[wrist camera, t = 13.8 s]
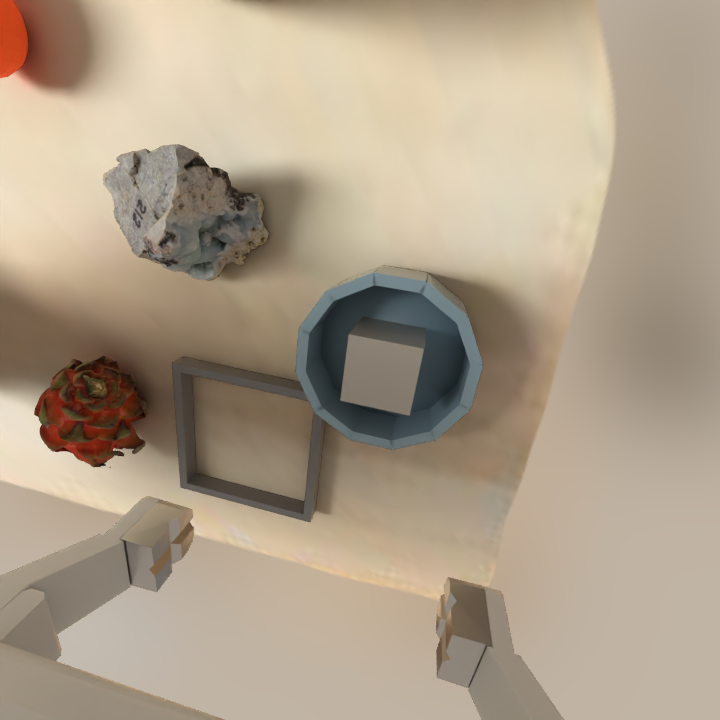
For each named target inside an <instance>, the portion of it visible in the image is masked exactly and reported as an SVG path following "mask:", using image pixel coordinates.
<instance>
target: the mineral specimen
mask: <svg viewBox="0 0 720 720" xmlns="http://www.w3.org/2000/svg"><path fill="white" fill-rule="evenodd" d="M117 161H118V162H120V163H119V164H118V166H117V167H115V168H113V169H112V170H109V171H108V173H105V174H104V176H103V184H104V185H105V187H106V188H107V189H108V191H109V192H110V193H111V194H112V197H113V201H114V207H115V209H114V211H113V212H114V216H115V219H116V221H117V222H118V224H119V225H120V228H121V230H122V232H123V233H124V235H125V237H126V239H127V241H128V243H129V245H130V246H131V248H132V252H133V253H134V254H136V255H137V256H138V257H141V258H146V259H149V260H151V261H153V262H155V263H159V264H161V265H162V266H163V267H164V268H166V269H169V270H172V271H182V272H185V273H186V274H188V275H189V276H191V277H193V278H195V279H203V280H207V281H211V280H214V279H215V278H217V277H219V276H220V273H221V272H222V270H223V268H224V266H225V265H227V264H230V263H235V264H238V265H243V264H244V263H245V261H244V260H245V258H246V256H247V253H249V252H250V250H251V249H256V248H257V246H260V245H263V244H264V243H265V242H266V241H267V239H268V235H269V233H268V232H267V230H266V229H265V227H264V224H263V222H262V220H261V217H262V214H263V211H264V206H263V201H262V200H261V198H260V195H259V194H256V193H245V192H241V191H238V190H237V189H235V188H233V187H231V184H230V180H229V177H228V173H227V172H225V171H223V170H221V169H219V168H210V167H209V166H208V165H207V163H206V162H205V160H204V159H203V157H201V156H199V153H198V152H195V151H193V150H191V149H189V148H187V147H185V146H182V145H179V144H177V145H166V146H161V147H159V148H157V149H155V150H153V151H152V152H150V151H149V150H147V149H142V150H140V151H132V152H129V153H126V154H122V155H120V156H118V157H117Z"/></svg>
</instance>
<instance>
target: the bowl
mask: <svg viewBox="0 0 720 720" xmlns="http://www.w3.org/2000/svg"><path fill="white" fill-rule="evenodd" d="M427 274H428V275H427ZM362 317H367V318H373V319H378V320H384V321H389V322H395V323H400V324H405V325H411V326H416V327H422V328H426V335H425V344H424V351H423V356H422V361H421V365H420V370H419V375H418V379H417V384H416V389H415V393H414V398H413V403H412V407H411V412H410V416H408V415H404V414H399V413H395V412H390V411H386V410H381V409H376V408H372V407H367V406H363V405H358V404H354V403H349V402H345V401H340V399H341V391H342V383H343V375H344V368H345V360H346V352H347V344H348V336H349V333H350V332H351V331H352V330H353V328H354V327H355V326H356V325H357V324H358V322H359V321H360V320H361V319H362ZM482 367H483V362H482V359H481V356H480V352H479V349H478V346H477V343H476V340H475V337H474V333H473V330H472V327H471V324H470V321H469V318H468V315H467V312H466V309H465V306H464V303H463V302H462V301H461V300H460V299H459V298H458V297H456V296H455V295H454V294H453V293H452V292H450V291H449V290H448V289H447V288H446V287H445V286H443V285H442V284H441V283H440V282H439V281H438V280H436V279H435V278H434V277H433V276H432V275H430V274H429V273H427V272H421V271H415V270H409V269H403V268H397V267H391V266H385V265H383V266H380V267H377V268H375V269H372V270H370V271H367V272H365V273H362V274H360V275H357V276H355V277H352V278H350V279H347V280H344V281H342V282H341V283H339V284H337V285H336V286H334V287H332V288H330V289H329V290H327V291H326V292H325V293H324V295H323V296H322V297H321V299H320V300H319V301H318V303H317V304H316V306H315V307H314V308H313V310H312V311H311V312H310V314H309V315H308V316H307V318H306V319H305V321H304V322H303V323H302V325H301V326H300V327H299V331H298V344H297V358H296V371H295V372H296V375H297V377H298V379H299V381H300V383H301V385H302V388H303V390H304V392H305V394H306V396H307V398H308V400H309V402H310V405H311V407H312V409H313V411H315V413H316V414H317V415H318V416H320V417H321V418H322V419H323V420H325V421H326V422H327V423H328V424H330V425H331V426H332V427H334V428H335V429H336V430H337V431H339V432H340V433H341V434H342V435H344V436H345V437H346V438H347V439H349V438H350V439H349V440H353V441H357V442H361V443H366V444H370V445H374V446H378V447H383V448H387V449H391V450H392V448H393V450H394V449H398V448H403V447H407V446H411V445H416V444H420V443H425V442H429V441H433V440H436V439H438V438H439V437H440V436H441V435H442V434H444V433H445V432H446V431H447V430H448V429H449V428H450V427H451V426H452V425H454V424H455V423H456V422H457V421H458V420H459V419H460V418H461V417H463V416H464V415H465V414H466V413H467V412H468V411H469V410H470V409H471V406H472V402H473V399H474V395H475V392H476V388H477V385H478V381H479V378H480V374H481V371H482Z"/></svg>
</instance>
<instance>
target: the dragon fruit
mask: <svg viewBox="0 0 720 720" xmlns="http://www.w3.org/2000/svg"><path fill="white" fill-rule="evenodd" d="M137 393H138V390H137V387H136V386H135V379H134V378H133V376H132V375H128V374H124V373H122V372H120V371H119V368H118V365H117V362H116V361H113V360H111V359H109V358H107V357H105V356H102V357H101V358H99V359H97V360H94V361H92V362H86V363H82V362H81V361H78V360H76V359H72V361H71V363H70V364H69V365H68V366H67V367H65V368H64V369H62V370H61V371H60V372H58V373H57V374H56V375H55V376H54V377H53V380H52V383H51V387H50V388H48V389H47V390H46V391H45V392H44V393H43V394H42V395H41V397H40V398H39V401H38V403H37V406H36V408H35V413H34V415H36V416H38V417H39V421H40V422H41V424H42V425H41V427H40V436H41V438H42V440H43V441H44V443H45V444H46V445H47V447H48V448H49V449H51V450H52V451H55V452H59V451H68V452H70V453H73V454H74V456H75V457H76V458H77V459H79V460H81V461H84V462H86V463H88V464H90V465H91V466H92V467H100V466H106V465H105V464H104V463H105V462H107V461H108V460H109V459H111V458H112V457H113V456H114V455H117V456H124V453H122V452H120V451H113V449H114V448H116V449H123V448H127V449H134V450H133V451H132V453H133V454H135V453H137V452H138V451H140V450H141V449H142V448H143V447H144V446H145V441H144V440H142V439H140V438H139V437H138V435H137V433H136V431H135V429H134V427H133V426H132V422H133V421H137V420H139V419H142V418H145V417H146V416H147V411H146V409H145V408H146V401H142V400H141V399H140V398H138V397H137V396H136V395H137ZM110 468H111V467H110Z"/></svg>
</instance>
